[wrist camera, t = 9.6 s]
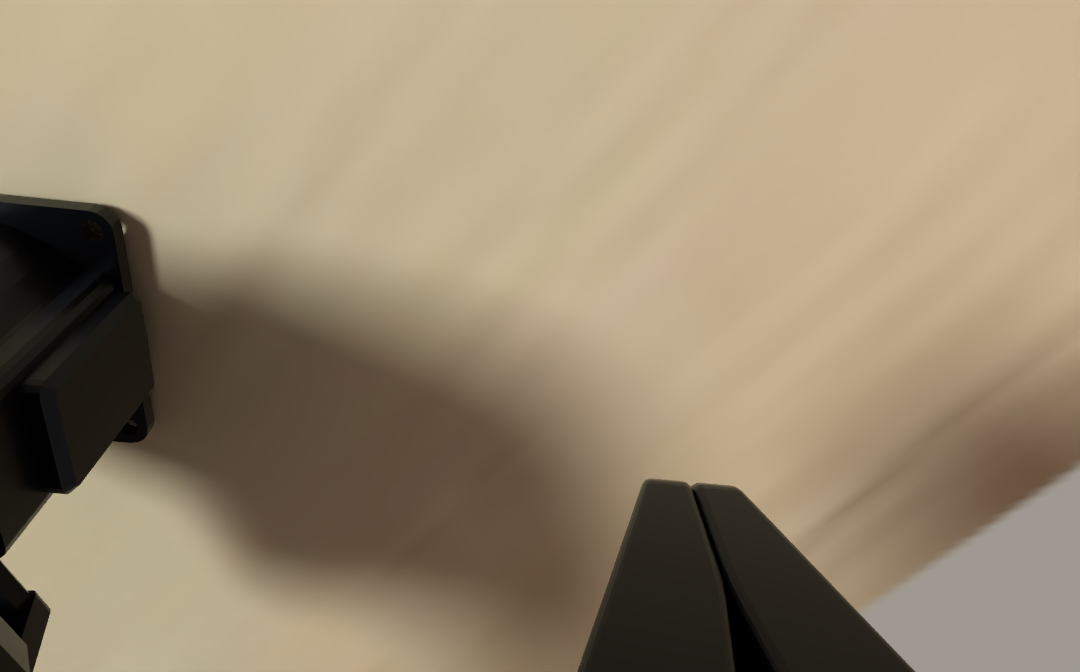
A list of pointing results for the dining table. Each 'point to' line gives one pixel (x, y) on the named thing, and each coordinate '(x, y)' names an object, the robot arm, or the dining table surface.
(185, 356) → the dining table surface
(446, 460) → the dining table surface
